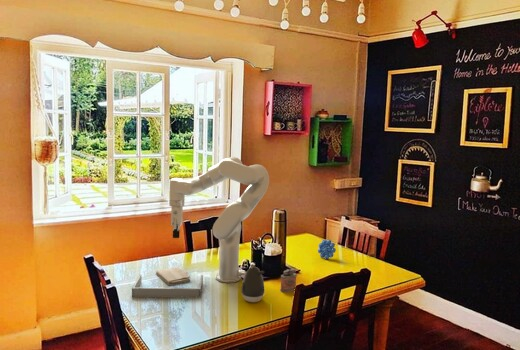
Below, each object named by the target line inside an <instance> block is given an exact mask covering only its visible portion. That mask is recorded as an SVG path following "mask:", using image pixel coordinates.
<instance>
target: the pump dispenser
mask: <svg viewBox="0 0 520 350" xmlns="http://www.w3.org/2000/svg"><path fill="white" fill-rule="evenodd" d="M245 272H246V274H245V276H244V277H243V279H242V285H241V290H240V291H241V295H242V297H243V299H244V300H245V301H246V302H249V303H258V302H260V301H261V300H262V299H263V298H264V297H263V296H264V295H265V291H266V290H265V281H264V279H263V277H264V276H263V274H265V271H264V270H261V271H260V268H258V267H256V266H250V267H249V268H248V269H247V271H245Z"/></svg>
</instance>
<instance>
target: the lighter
mask: <svg viewBox="0 0 520 350" xmlns="http://www.w3.org/2000/svg"><path fill="white" fill-rule="evenodd" d="M297 276H298V274H297V273H296V269H295V268H293V269H292V268H291V269H288V268H287V269H286V270H284V271H283V274H281V275H280V278H281V279H280V289H279V290H280V291H279V292H281V293H290V291H291V292H295V291H294V289H295V286H296V287H297Z"/></svg>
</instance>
